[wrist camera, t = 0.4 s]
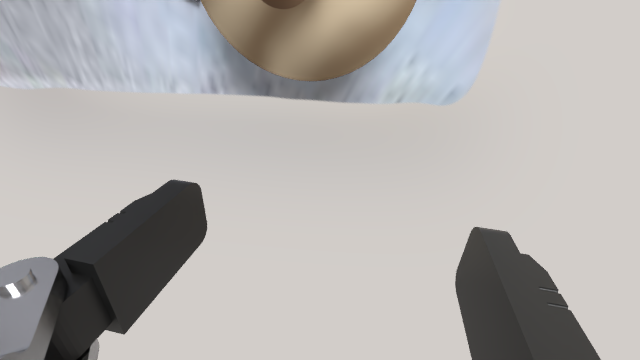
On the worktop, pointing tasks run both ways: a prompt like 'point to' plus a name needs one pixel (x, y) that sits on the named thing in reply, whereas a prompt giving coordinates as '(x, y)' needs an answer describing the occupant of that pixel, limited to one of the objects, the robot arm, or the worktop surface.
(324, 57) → the oak lid
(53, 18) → the worktop surface
